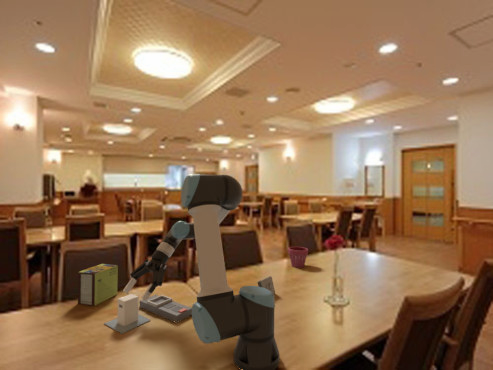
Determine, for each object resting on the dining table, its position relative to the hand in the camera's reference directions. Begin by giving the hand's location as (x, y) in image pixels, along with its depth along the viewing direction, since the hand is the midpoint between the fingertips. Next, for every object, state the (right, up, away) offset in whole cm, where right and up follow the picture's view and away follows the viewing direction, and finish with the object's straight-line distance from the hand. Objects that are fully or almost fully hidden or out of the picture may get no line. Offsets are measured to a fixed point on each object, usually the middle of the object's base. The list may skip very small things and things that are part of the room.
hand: (134, 295), depth 117 cm
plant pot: (+86, -12, +82) cm, 120 cm away
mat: (-1, -10, -3) cm, 10 cm away
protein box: (-27, -10, +21) cm, 36 cm away
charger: (-1, -9, -3) cm, 10 cm away
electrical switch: (+59, -11, +27) cm, 66 cm away
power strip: (+11, -10, +8) cm, 17 cm away
